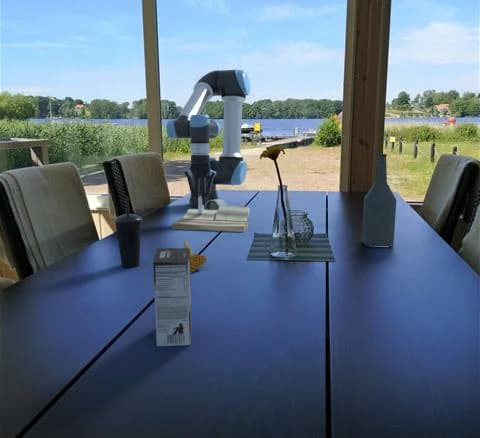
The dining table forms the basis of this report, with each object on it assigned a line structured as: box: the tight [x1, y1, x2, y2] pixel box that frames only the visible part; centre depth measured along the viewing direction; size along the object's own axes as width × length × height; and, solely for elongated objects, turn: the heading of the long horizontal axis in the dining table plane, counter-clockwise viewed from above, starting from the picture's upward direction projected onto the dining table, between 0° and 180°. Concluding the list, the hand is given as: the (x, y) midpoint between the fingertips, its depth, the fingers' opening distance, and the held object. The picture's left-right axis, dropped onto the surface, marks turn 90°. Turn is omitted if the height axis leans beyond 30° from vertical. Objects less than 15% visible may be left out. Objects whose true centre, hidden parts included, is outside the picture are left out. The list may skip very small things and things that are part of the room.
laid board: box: [171, 218, 249, 233], centre depth 175 cm, size 9×28×2 cm, turn 79°
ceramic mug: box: [204, 198, 228, 210], centre depth 198 cm, size 11×8×8 cm
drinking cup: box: [113, 195, 143, 269], centre depth 127 cm, size 8×8×20 cm
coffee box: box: [152, 247, 192, 347], centre depth 85 cm, size 9×6×16 cm
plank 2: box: [215, 205, 251, 221], centre depth 182 cm, size 9×12×2 cm
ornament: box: [183, 241, 208, 275], centre depth 128 cm, size 7×10×15 cm
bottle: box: [361, 153, 397, 246], centre depth 148 cm, size 10×10×30 cm
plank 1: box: [182, 208, 218, 220], centre depth 185 cm, size 9×12×2 cm
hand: (201, 212), depth 185 cm, fingers closed
